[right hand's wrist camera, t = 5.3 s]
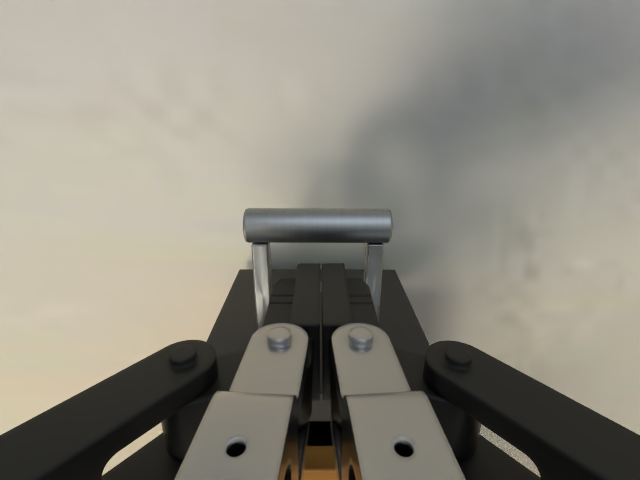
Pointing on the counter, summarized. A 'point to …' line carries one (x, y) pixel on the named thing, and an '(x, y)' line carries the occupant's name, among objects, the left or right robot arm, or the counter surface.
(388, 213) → the drawer
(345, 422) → the right robot arm
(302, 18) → the counter surface
